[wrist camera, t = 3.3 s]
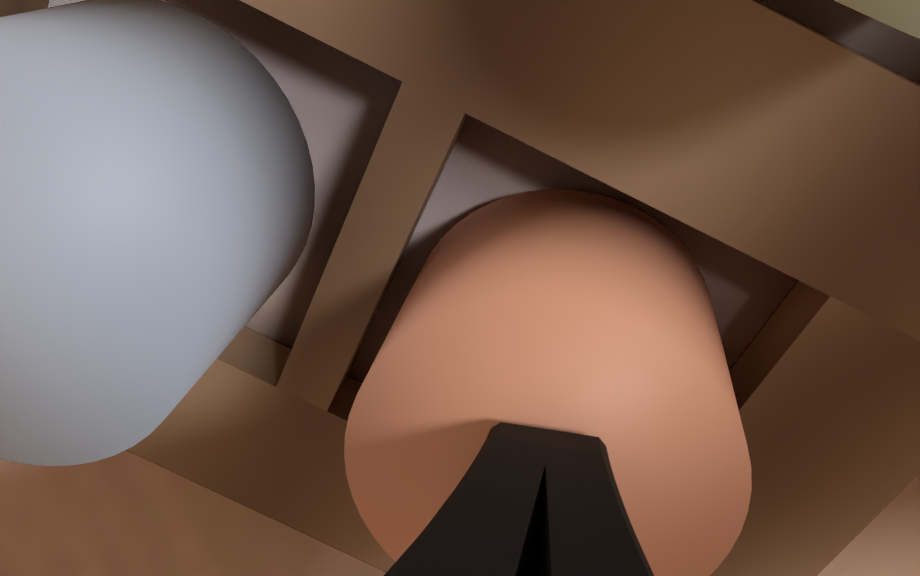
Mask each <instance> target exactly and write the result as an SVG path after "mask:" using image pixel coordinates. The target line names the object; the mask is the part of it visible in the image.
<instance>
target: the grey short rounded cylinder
mask: <svg viewBox="0 0 920 576" xmlns="http://www.w3.org/2000/svg"><path fill="white" fill-rule="evenodd" d="M314 200H315V184H314V175H313V167H312V161H311V157H310V153H309V149H308V145H307V141H306V139H305V136H304V133H303V131H302V128H301V125H300V123H299V120H298V118H297V116H296V114H295V112H294V111H293V109H292V107H291V105H290V103H289V101H288V99H287V97H286V96H285V94H284V93H283V91H282V90H281V88H280V87H279V85H278V84H277V82H276V81H275V79H274V78H273V77H272V76H271V75H270V73H269V72H268V71H267V70H266V69H265V67H264V66H263V65H262V64H261V63H260V62H259V60H258V59H257V58H256V57H255V56H254V55H253V54H251V53H250V52H249V51H248V50H247V49H246V48H245V47H244V46H243V45H242V44H241V43H240V42H239V41H237V40H236V39H235V38H233V37H232V36H231V35H229V34H228V33H227V32H225V31H224V30H223V29H221V28H220V27H218V26H217V25H215V24H213V23H211V22H210V21H208V20H206V19H204V18H203V17H201V16H199V15H197V14H195V13H193V12H190V11H188V10H185V9H183V8H181V7H178V6H176V5H172V4H169V3H165V2H162V1H158V0H86V1H81V2H76V3H71V4H66V5H61V6H55V7H50V8H45V9H40V10H35V11H30V12H25V13H19V14H14V15H9V16H4V17H0V459H1V460H6V461H11V462H16V463H21V464H29V465H40V466H72V465H78V464H85V463H91V462H95V461H99V460H102V459H105V458H108V457H112V456H115V455H117V454H119V453H121V452H123V451H125V450H127V449H129V448H131V447H133V446H134V445H136V444H137V443H139V442H140V441H141V440H143V439H144V438H146V437H147V436H148V435H150V434H151V433H152V432H153V431H154V430H155V429H156V428H157V427H158V426H159V425H160V424H161V423H162V422H163V421H164V419H165V418H166V417H167V416H168V415H169V414H170V413H171V411H172V410H173V409H174V408H175V407H176V406H177V404H178V403H179V402H180V401H181V400H182V399H183V397H184V396H185V395H186V394H187V393H188V392H189V390H190V389H191V388H192V387H193V386H194V385H195V383H196V382H197V381H198V380H199V379H200V378H201V376H202V375H203V374H204V373H205V372H206V371H207V369H208V368H209V367H210V366H211V365H212V364H213V362H214V361H215V360H216V359H217V358H218V357H219V355H220V354H221V353H222V352H223V351H224V350H225V348H226V347H227V346H228V345H229V344H230V343H231V341H232V340H233V339H234V338H235V337H236V336H237V334H238V333H239V332H240V331H241V330H242V329H243V327H244V326H245V325H246V324H247V323H248V322H249V320H250V319H251V318H252V317H253V316H254V315H255V313H256V312H257V311H258V310H259V309H260V308H261V306H262V305H263V304H264V303H265V302H266V301H267V299H268V298H269V297H270V296H271V295H272V294H273V292H274V291H275V290H276V289H277V288H278V287H279V285H280V284H281V283H282V282H283V281H284V280H285V278H286V277H287V276H288V275H289V273H290V272H291V270H292V269H293V267H294V266H295V265H296V263H297V262H298V260H299V258H300V256H301V253H302V251H303V249H304V247H305V245H306V242H307V239H308V236H309V232H310V229H311V225H312V219H313V213H314Z"/></svg>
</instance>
